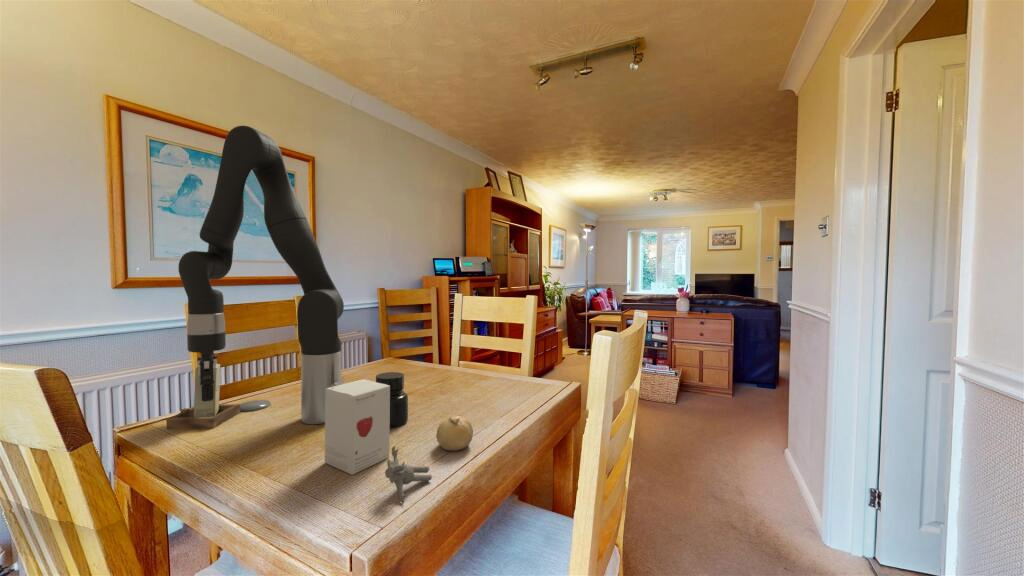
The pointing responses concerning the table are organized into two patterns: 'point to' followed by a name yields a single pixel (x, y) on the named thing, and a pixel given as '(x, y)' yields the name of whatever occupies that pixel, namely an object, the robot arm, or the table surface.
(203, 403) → the skincare box
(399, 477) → the grey toy figurine
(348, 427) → the supplement box
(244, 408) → the coaster
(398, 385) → the ink bottle
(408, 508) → the table surface
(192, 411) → the brown square shallow tray
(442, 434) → the onion
